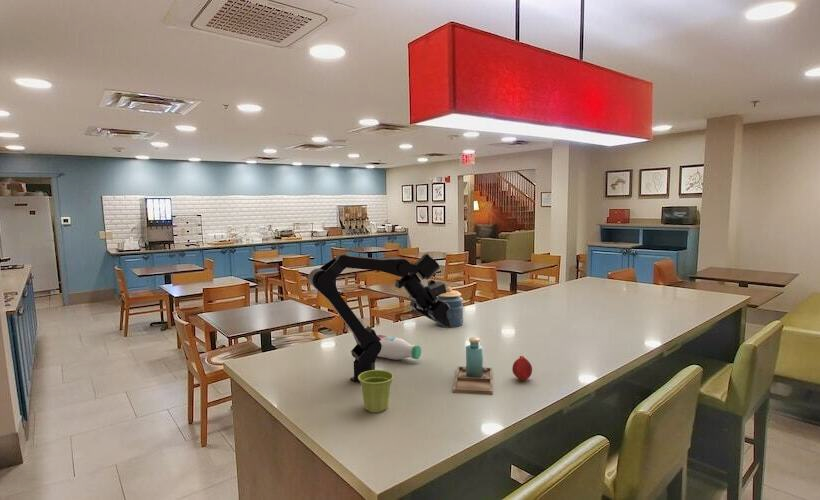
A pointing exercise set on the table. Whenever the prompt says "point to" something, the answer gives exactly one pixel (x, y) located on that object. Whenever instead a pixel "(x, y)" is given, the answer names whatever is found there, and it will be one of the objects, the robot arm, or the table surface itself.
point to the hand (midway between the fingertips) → (442, 323)
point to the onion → (522, 368)
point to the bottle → (474, 358)
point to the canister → (452, 307)
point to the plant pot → (376, 389)
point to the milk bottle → (397, 348)
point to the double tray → (473, 382)
